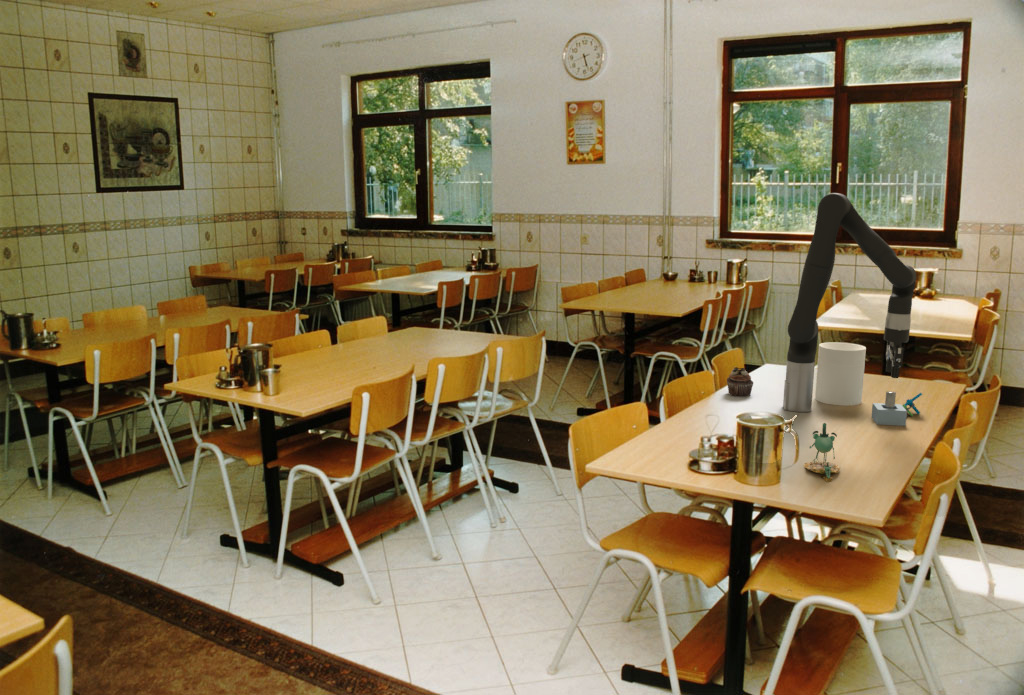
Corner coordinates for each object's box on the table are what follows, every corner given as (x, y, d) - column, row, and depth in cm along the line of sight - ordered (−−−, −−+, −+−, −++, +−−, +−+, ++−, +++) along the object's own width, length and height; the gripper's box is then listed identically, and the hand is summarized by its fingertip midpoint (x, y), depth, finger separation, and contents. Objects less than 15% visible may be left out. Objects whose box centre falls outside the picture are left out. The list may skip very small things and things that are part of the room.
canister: (854, 395, 331) (858, 342, 327) (867, 406, 316) (871, 351, 312) (810, 394, 333) (814, 341, 329) (820, 404, 317) (824, 349, 313)
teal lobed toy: (902, 403, 314) (923, 387, 307) (914, 416, 312) (935, 401, 305) (889, 412, 306) (910, 397, 299) (901, 426, 305) (923, 411, 298)
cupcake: (754, 397, 327) (755, 371, 325) (727, 396, 328) (728, 370, 326) (751, 391, 336) (752, 365, 334) (725, 390, 337) (726, 364, 336)
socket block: (876, 424, 292) (877, 409, 291) (871, 417, 301) (872, 402, 300) (905, 425, 291) (907, 411, 290) (899, 418, 299) (901, 404, 298)
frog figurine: (800, 479, 239) (803, 425, 238) (805, 467, 255) (808, 416, 254) (837, 484, 235) (841, 428, 234) (840, 471, 252) (844, 419, 251)
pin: (884, 422, 295) (887, 393, 293) (882, 420, 298) (885, 391, 296) (894, 422, 294) (896, 393, 292) (892, 420, 297) (894, 391, 295)
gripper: (881, 322, 297) (875, 369, 300) (889, 329, 284) (884, 379, 287) (904, 323, 296) (899, 371, 299) (914, 331, 282) (908, 380, 285)
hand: (891, 375), depth 293 cm, fingers open, 8 cm apart
